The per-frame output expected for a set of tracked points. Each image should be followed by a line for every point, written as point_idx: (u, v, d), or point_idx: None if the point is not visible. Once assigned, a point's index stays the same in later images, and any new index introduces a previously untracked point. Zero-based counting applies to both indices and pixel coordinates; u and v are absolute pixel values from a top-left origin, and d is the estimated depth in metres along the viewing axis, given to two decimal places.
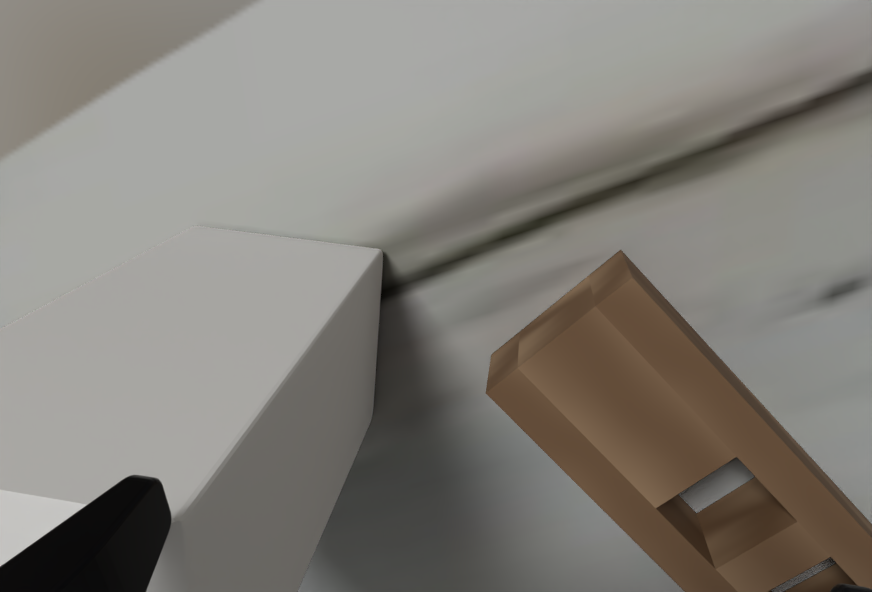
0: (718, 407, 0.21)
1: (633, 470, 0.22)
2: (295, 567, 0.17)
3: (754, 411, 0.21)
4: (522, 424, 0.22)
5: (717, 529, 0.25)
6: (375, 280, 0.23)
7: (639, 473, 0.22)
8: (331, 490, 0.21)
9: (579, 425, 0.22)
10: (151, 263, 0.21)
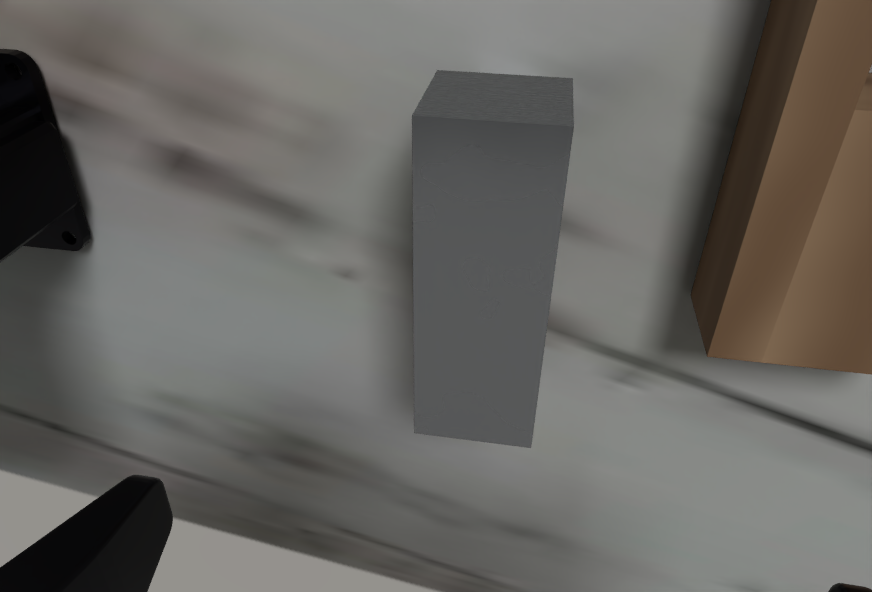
0: None
1: None
2: None
3: None
4: None
5: None
6: None
7: None
8: None
9: None
10: None
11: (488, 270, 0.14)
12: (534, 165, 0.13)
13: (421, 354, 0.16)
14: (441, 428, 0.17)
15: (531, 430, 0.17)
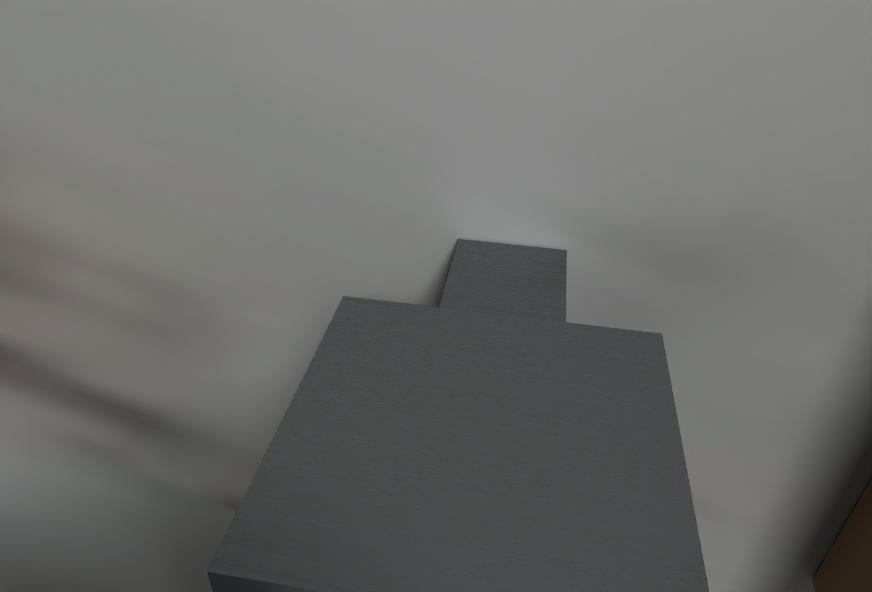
0: None
1: None
2: None
3: None
4: None
5: None
6: None
7: None
8: None
9: None
10: None
11: None
12: None
13: None
14: None
15: None
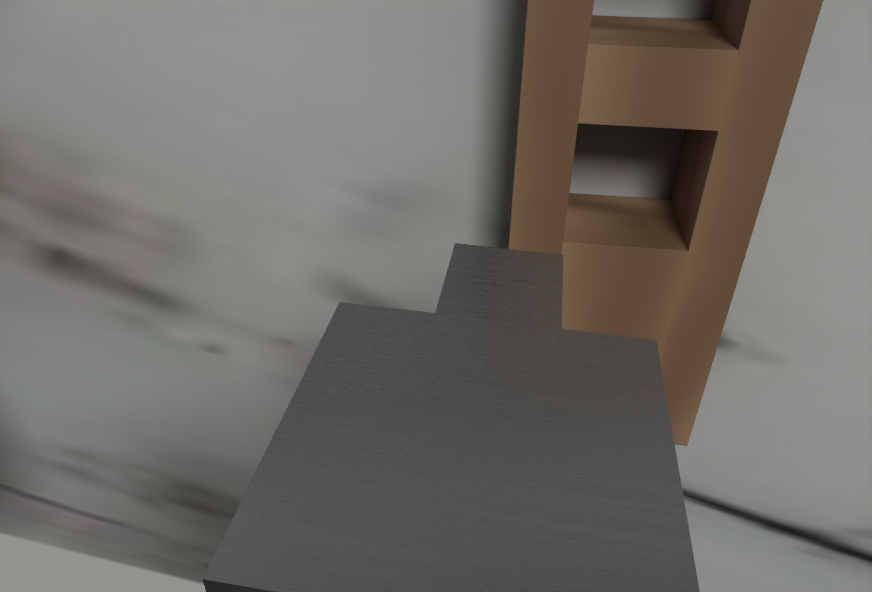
0: None
1: None
2: None
3: None
4: None
5: (608, 28, 0.16)
6: None
7: None
8: None
9: None
10: None
11: None
12: None
13: None
14: None
15: None
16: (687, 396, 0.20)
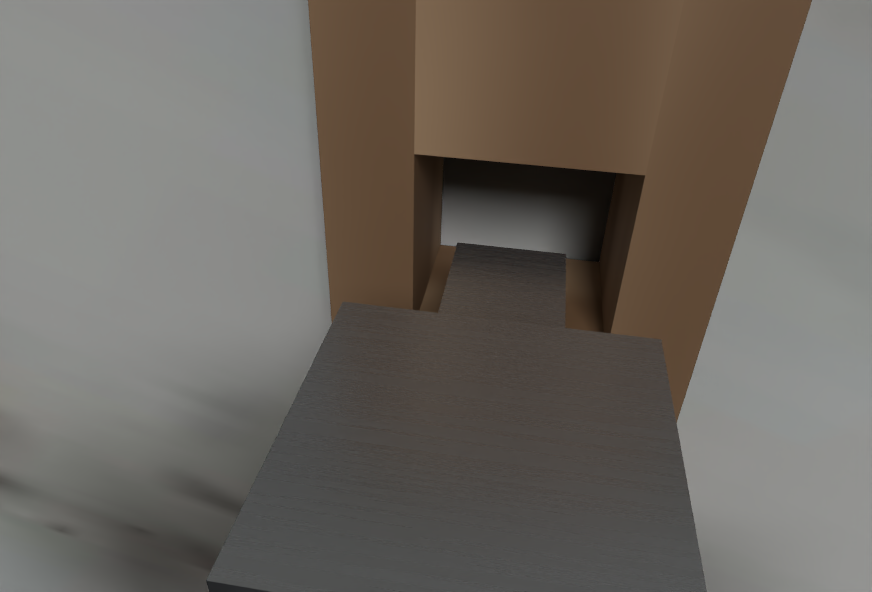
0: (731, 42, 0.08)
1: (444, 36, 0.09)
2: None
3: (772, 113, 0.09)
4: None
5: None
6: None
7: (449, 55, 0.09)
8: None
9: None
10: None
11: None
12: None
13: None
14: None
15: None
16: None
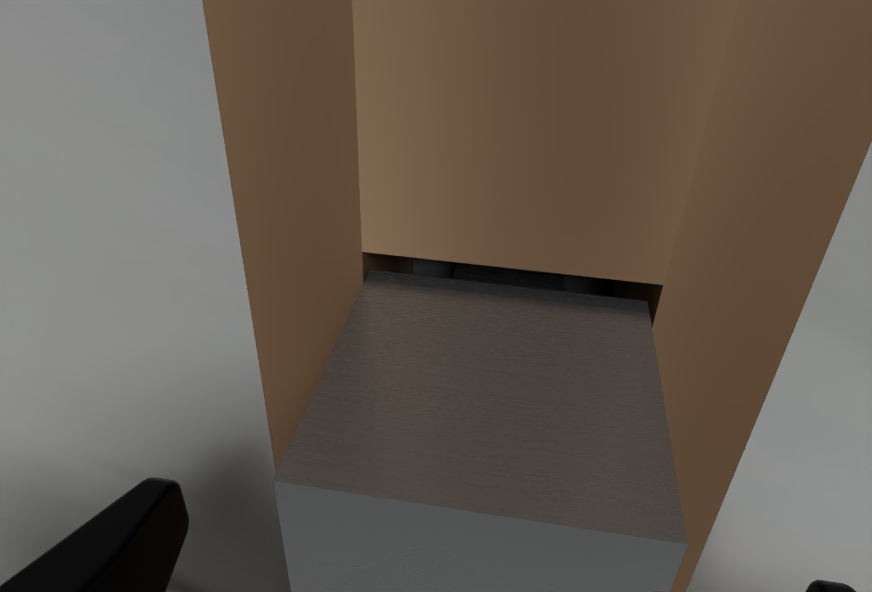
0: (784, 122, 0.06)
1: (395, 108, 0.06)
2: None
3: (837, 212, 0.06)
4: None
5: None
6: None
7: (403, 132, 0.07)
8: None
9: None
10: None
11: None
12: None
13: None
14: None
15: None
16: None
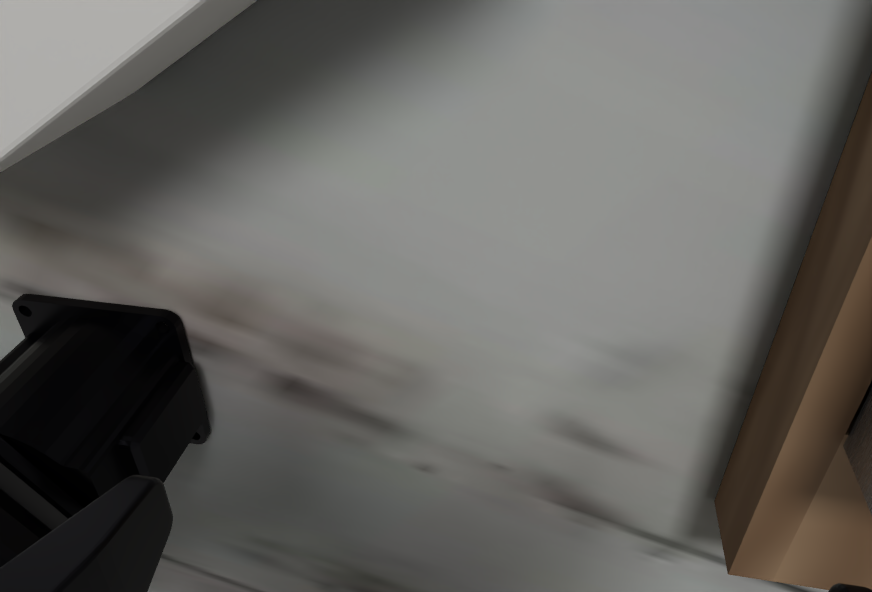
0: None
1: None
2: None
3: None
4: None
5: None
6: None
7: None
8: None
9: None
10: None
11: None
12: None
13: None
14: None
15: None
16: None
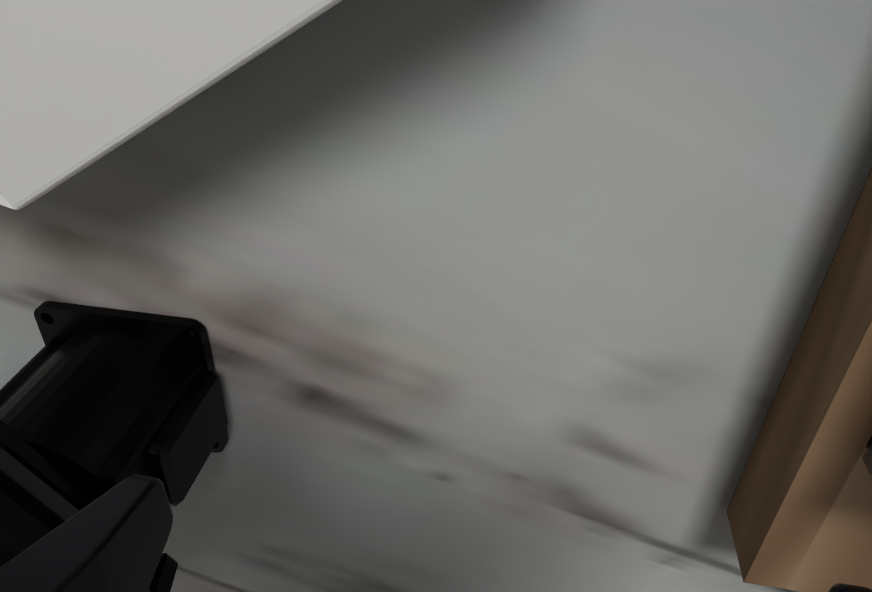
0: None
1: None
2: None
3: None
4: None
5: None
6: None
7: None
8: None
9: None
10: None
11: None
12: None
13: None
14: None
15: None
16: None
